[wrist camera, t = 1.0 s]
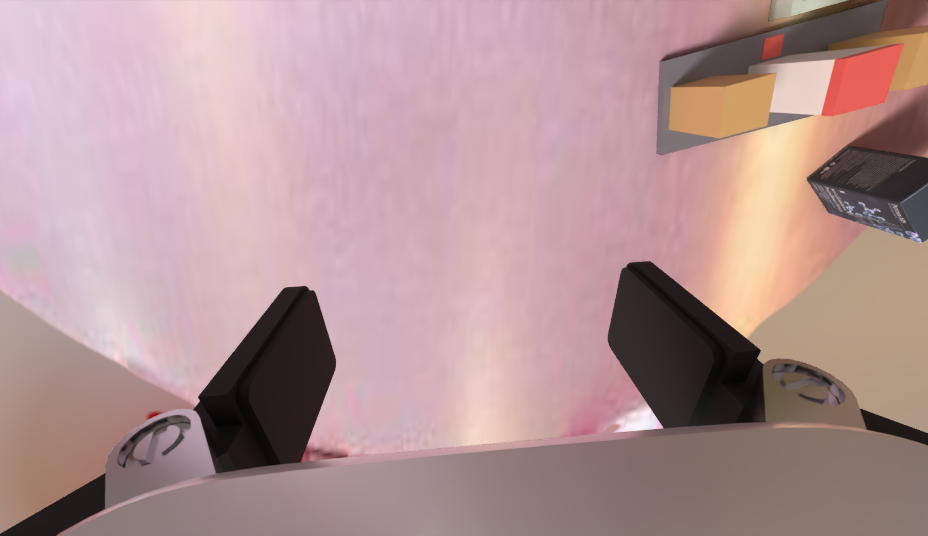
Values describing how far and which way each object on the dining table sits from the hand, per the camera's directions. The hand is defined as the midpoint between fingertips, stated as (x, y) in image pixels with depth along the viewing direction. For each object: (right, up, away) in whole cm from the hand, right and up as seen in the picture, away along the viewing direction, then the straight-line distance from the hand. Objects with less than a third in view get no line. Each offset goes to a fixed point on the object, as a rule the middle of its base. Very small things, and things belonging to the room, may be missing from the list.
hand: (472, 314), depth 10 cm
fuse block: (+34, +23, +28) cm, 49 cm away
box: (+50, +13, +34) cm, 62 cm away
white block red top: (+34, +22, +27) cm, 48 cm away
